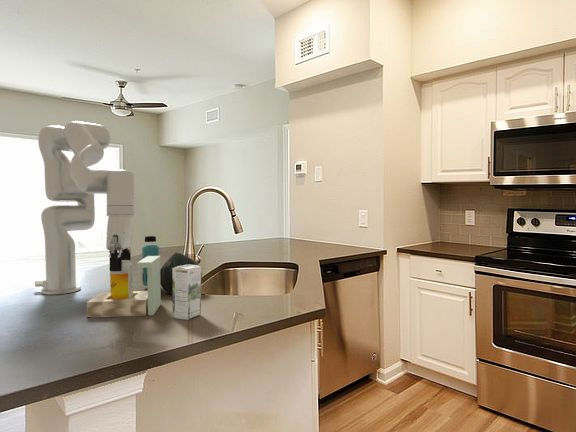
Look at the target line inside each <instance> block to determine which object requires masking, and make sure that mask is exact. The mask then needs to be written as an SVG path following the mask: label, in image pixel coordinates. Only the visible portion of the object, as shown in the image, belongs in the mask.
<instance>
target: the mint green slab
mask: <svg viewBox="0 0 576 432" xmlns="http://www.w3.org/2000/svg"><path fill="white" fill-rule="evenodd" d="M161 259H162V255H159V256H147V257H145V258H144V259H142V258H141V260H139V261H137V262H136V269H137V268H138V269H140V268H141V269H143V268H147V285H148V286H147V291H148V313H147V315H148V316H154V314H155V313H156V312H157V311H158V309H159V307H160V306H161V305H162V301H161V300H162V296H161V295H162V292H161V288H162V286H161V284H160V270H161V261H162V260H161Z"/></svg>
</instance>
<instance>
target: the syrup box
mask: <svg viewBox="0 0 576 432" xmlns="http://www.w3.org/2000/svg"><path fill="white" fill-rule="evenodd" d="M201 273H202V267H201V265H199V266H197V265H183V266H178V267H174V268H173V294H172V318H173V319H179V320H186V321H190V320H192V319H195V318H197V317H199V316H201V314H202V309H201V308H202V280H201Z"/></svg>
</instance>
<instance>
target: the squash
mask: <svg viewBox="0 0 576 432" xmlns="http://www.w3.org/2000/svg"><path fill="white" fill-rule="evenodd" d="M183 265H197V266H200V265H199V264H198V263H197V262H196V261H195V260H194V259H192V258H191V257H188V256H186V255H185V254H182V253H180V252H175V253H173V254H172V255H171V256H170V257H169V259H168V260H166V262H165V263H164V264H163V266H162V267H160V285H161V288H162V289H163V290H164V292H166V293H168V294H172V295H173V268H174V267H178V266H183ZM202 277H203V273H202V272H201V281H202V279H203V278H202Z"/></svg>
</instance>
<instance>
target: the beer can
mask: <svg viewBox="0 0 576 432" xmlns="http://www.w3.org/2000/svg"><path fill="white" fill-rule="evenodd" d="M109 277H110V278H109V279H110V280H109V281H110V285H109V286H110V292H111V299H132V298H133V291H134V290H133V285H134V284H133V263H132V262H131V261H130V260H122V270H121V271H110V270H109Z"/></svg>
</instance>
